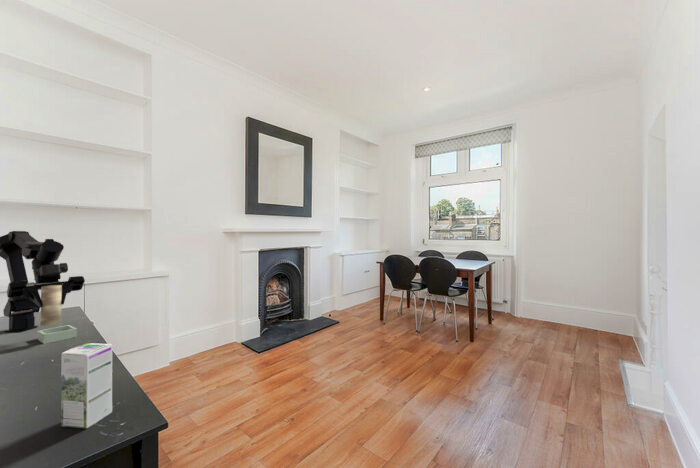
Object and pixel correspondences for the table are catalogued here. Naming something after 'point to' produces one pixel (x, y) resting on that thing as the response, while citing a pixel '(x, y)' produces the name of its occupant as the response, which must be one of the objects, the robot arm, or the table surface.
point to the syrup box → (86, 385)
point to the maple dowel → (51, 305)
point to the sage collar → (56, 334)
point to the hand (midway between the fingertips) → (52, 305)
